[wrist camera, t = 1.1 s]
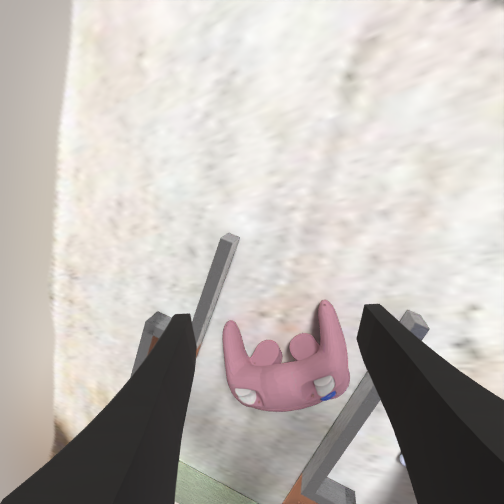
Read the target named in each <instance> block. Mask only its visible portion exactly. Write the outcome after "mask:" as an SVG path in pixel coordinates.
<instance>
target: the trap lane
mask: <svg viewBox="0 0 504 504" xmlns="http://www.w3.org/2000/svg"><path fill="white" fill-rule="evenodd" d="M239 239H240V237H238V236H235V235H233V234H231V233H228V234H226V235H225V236H223V237H222V238H221V239H220V241H219V244H218V247H217V250H216V253H215V256H214V259H213V262H212V265H211V268H210V271H209V274H208V277H207V280H206V283H205V286H204V289H203V292H202V295H201V298H200V300H199V303H198V306H197V309H196V312H195V315H194V318H193V321H192V326H193V331H194V336H195V341H196V346H197V351H196V357H197V354H198V351H199V348H200V346H201V343H202V340H203V337H204V335H205V332H206V329H207V326H208V324H209V321H210V318H211V316H212V313H213V310H214V307H215V305H216V302H217V299H218V296H219V294H220V291H221V288H222V285H223V283H224V280H225V277H226V274H227V272H228V269H229V266H230V263H231V261H232V258H233V255H234V252H235V250H236V247H237V244H238V241H239ZM171 319H172V318H171V317H169V316H167V315H165V314H162V313H160V312H158V311H157V312H156V313H155V314H154V315H153V316H152V317H150V318H149V319H148V320H147V321H146V322H145V326H144V329H143V333H142V337H141V341H140V344H139V348H138V352H137V355H136V359H135V363H134V366H133V370H132V374H131V377H132V375H133V374H134V373H135V371H136V370H137V369H138V367H139V366H140V365H141V364H142V362H143V361H144V360H145V358H146V357H147V355H148V354H149V352H150V351H151V350H152V348H153V347H154V345H155V344H156V342H157V341H158V339H159V338H160V336H161V335H162V333H163V332H164V330H165V329H166V327H167V325H168V324H169V322H170V320H171ZM400 323H401V324H403V325H404V326H405V327H406V328H407V329H408V330H409V331H411V332H412V333H413V334H414V335H415V336H416V337H417V338H419V339H420V340H421V341H422V339H423V338H424V336H425V335H426V333H427V332H428V331H429V327H428V326H427V324H426V323H425V321H424V320H423V318H422V317H421V315H419V314H417V313H414V312H412V311H410V310H407V311H406V313H405V314H404V316H403V317H402V319H401V320H400ZM380 400H381V399H380V397H379V395H378V393H377V390H376V388H375V386H374V384H373V382H372V379H371V377H370V375H369V373H368V372H367V373H366V375H365V376H364V378H363V379H362V381H361V382H360V384H359V386H358V387H357V389H356V390H355V392H354V393H353V395H352V396H351V398H350V400H349V401H348V403H347V404H346V406H345V407H344V409H343V410H342V412H341V414H340V415H339V417H338V418H337V420H336V421H335V423H334V424H333V426H332V427H331V429H330V431H329V432H328V434H327V435H326V437H325V438H324V440H323V441H322V443H321V445H320V446H319V448H318V449H317V451H316V452H315V454H314V455H313V457H312V458H311V460H310V462H309V463H308V465H307V466H306V468H305V469H304V471H303V472H302V474H301V476H300V477H299V479H298V480H297V482H296V483H295V485H294V486H293V488H292V489H291V491H290V493H289V494H288V496H287V497H286V499H285V500H284V502H283V503H282V504H356V499H355V491H353V490H351V489H349V488H347V487H345V486H343V485H341V484H339V483H337V482H335V481H333V480H331V479H329V478H327V476H328V474H329V473H330V471H331V470H332V468H333V467H334V466H335V464H336V463H337V461H338V460H339V458H340V457H341V456H342V454H343V453H344V451H345V450H346V448H347V447H348V445H349V444H350V443H351V441H352V440H353V438H354V437H355V435H356V434H357V433H358V431H359V430H360V428H361V427H362V425H363V424H364V422H365V421H366V420H367V418H368V417H369V415H370V414H371V412H372V411H373V410H374V408H375V407H376V405H377V404H378V402H379V401H380ZM175 501H176V502H177V503H179V504H258V503H256V502H254V501H253V500H251V499H249V498H247V497H245V496H243V495H241V494H240V493H238V492H236V491H234V490H232V489H230V488H229V487H227V486H225V485H223V484H221V483H219V482H217V481H216V480H214V479H212V478H210V477H208V476H206V475H204V474H203V473H201V472H199V471H197V470H195V469H193V468H192V467H190V466H188V465H186V464H184V463H182V462H180V461H179V463H178V472H177V482H176V492H175Z"/></svg>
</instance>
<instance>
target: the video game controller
mask: <svg viewBox="0 0 504 504" xmlns="http://www.w3.org/2000/svg"><path fill="white" fill-rule="evenodd" d="M318 318H319V326H320V335H321V338H320V345H319V344H318V343H317V341H316V340H315V339H314V337H313V336H312V335H310V334H308V333H302V334H299V335H297V336H295V337H294V338H293V339H292V340H291V342H290V352H291V354H292V356H293V357H294V359H295V360H296V361H293V362H287V363H281V362H282V352H281V350H280V348H279V346H278V344H277V343H276V342H275V341H272V340H265V341H262V342H261V343H260V344H258V346H257V347H256V349H255V351H254V353H253V355H252V356H251V357H250V358H249V357H248V355H247V353H246V351H245V348H244V344H243V340H242V336H241V334H240V331H239V328H238V326H237V325H236V323H235V322H234V321H232V320H229V321H228V322H226V324H225V326H224V329H223V350H224V359H225V368H226V376H227V381H228V385H229V387H230V390H231V392H232V394H233V395H234V397H235V398H236V399H237V400H238V401H239V402H240V403H242V404H243V405H245V406H248V407H253V408H256V409H260V410H265V411H274V412H283V411H292V410H299V409H303V408H306V407H310V406H313V405H316V404H318V403H320V402H322V401H326V400H329V399H334V398H337V397H339V396H340V395H342V394H343V393H344V392H345V391H346V389H347V388H348V386H349V382H350V373H349V369H348V356H347V348H346V343H345V339H344V335H343V332H342V329H341V326H340V323H339V320H338V317H337V314H336V312H335V309H334V307H333V306H332V304H331V303H330V302H328V301H327V300H322V301H321V303H320V305H319V312H318Z"/></svg>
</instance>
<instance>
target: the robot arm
mask: <svg viewBox="0 0 504 504" xmlns="http://www.w3.org/2000/svg"><path fill="white" fill-rule="evenodd" d="M357 342H358V345H359V348H360V352H361V355H362V358H363V361H364V364H365V366H366V368H367V370H368V373H369V375H370V377H371V379H372V382H373V384H374V386H375V388H376V390H377V393H378V395H379V397H380V399H381V401H382V404H383V406H384V408H385V410H386V413H387V415H388V417H389V419H390V422H391V424H392V427H393V429H394V432H395V435H396V438H397V441H398V444H399V447H400V450H401V452H402V454H401V455H400V462H401V464H403V465H404V466H406V468H407V471H408V474H409V477H410V480H411V483H412V486H413V490H414V493H415V496H416V500H417V503H418V504H504V400H503V399H501V398H500V397H498V396H496V395H495V394H493V393H492V392H490V391H489V390H487V389H485V388H484V387H482V386H481V385H479V384H478V383H477V382H475V381H474V380H472V379H471V378H469V377H468V376H466V375H465V374H463V373H462V372H461V371H459V370H458V369H457V368H455V367H454V366H452V365H451V364H450V363H449V362H447V361H446V360H445V359H443V358H442V357H441V356H439V355H438V354H437V353H436V352H434V351H433V350H432V349H431V348H429V347H428V346H427V345H426V344H425V343H423V342H422V341H421V340H420V339H419V338H417V337H416V336H415V335H414V334H413V333H412V332H411V331H409V330H408V329H407V328H406V327H405V326H404V325H403V324H401V323H400V322H399V321H398V320H397V319H396V318H395V317H394V316H393V315H391V314H390V313H389V312H388V311H387V310H386V309H385V308H384V307H382V306H381V305H380V304H366V305H364V309H363V313H362V318H361V322H360V326H359V330H358V335H357ZM196 351H197V346H196V341H195V336H194V331H193V326H192V321H191V316H190V314H175V315H174V316H173V317H172V319H171V320H170V322H169V324H168V325H167V327H166V329H165V330H164V332H163V333H162V335H161V336H160V338H159V339H158V341H157V342H156V344H155V345H154V347H153V348H152V350H151V351H150V352H149V354H148V355H147V357H146V358H145V360H144V361H143V362H142V364H141V365H140V366H139V367H138V369H137V370H136V371H135V373H134V374H133V375H132V377H131V378H130V379H129V380H128V382H127V383H126V384H125V385H124V386H123V388H122V389H121V390H120V391H119V392H118V393H117V395H116V396H115V397H114V398H113V399H112V400H111V401H110V402H109V404H108V405H107V406H106V407H105V408H104V409H103V410H102V411H101V412H100V413H99V414H98V415H97V416H96V417H95V418H94V419H93V420H92V421H91V422H90V423H89V424H88V425H87V426H86V427H85V428H84V429H83V430H82V431H81V432H80V433H79V434H78V435H77V436H76V437H75V438H74V439H73V440H72V441H71V442H69V443H68V444H67V445H66V446H65V447H64V448H63V449H62V450H61V451H60V452H59V453H58V454H56V455H55V456H54V457H53V458H52V459H51V460H50V461H49V462H47V463H46V464H45V465H44V466H43V467H42V468H40V469H39V470H38V471H37V472H36V473H34V474H33V475H32V476H31V477H30V478H28V479H27V480H26V481H25V482H24V483H22V484H21V485H20V486H19V487H17V488H16V489H15V490H14V491H13V492H11V493H10V494H9V495H8V496H6V497H5V498H4V499H3V500H2V502H1V503H0V504H174V502H175V492H176V482H177V472H178V463H179V455H180V446H181V438H182V432H183V426H184V421H185V417H186V412H187V407H188V402H189V397H190V392H191V387H192V382H193V377H194V372H195V363H196Z"/></svg>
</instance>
